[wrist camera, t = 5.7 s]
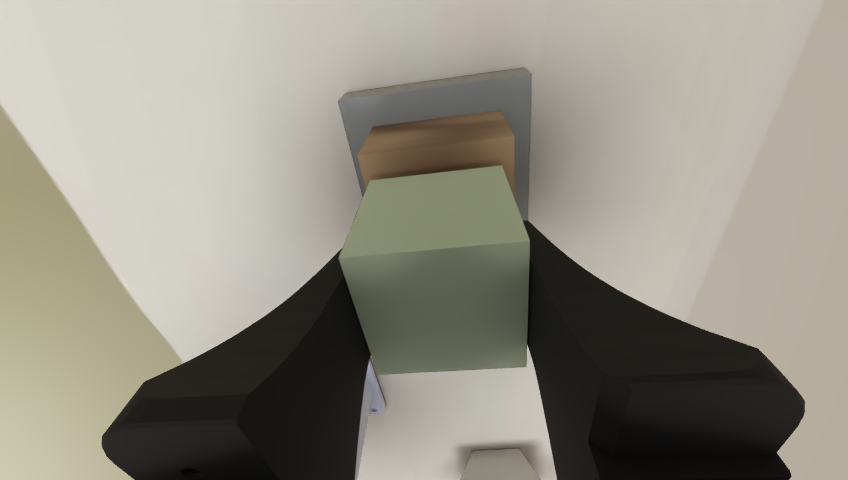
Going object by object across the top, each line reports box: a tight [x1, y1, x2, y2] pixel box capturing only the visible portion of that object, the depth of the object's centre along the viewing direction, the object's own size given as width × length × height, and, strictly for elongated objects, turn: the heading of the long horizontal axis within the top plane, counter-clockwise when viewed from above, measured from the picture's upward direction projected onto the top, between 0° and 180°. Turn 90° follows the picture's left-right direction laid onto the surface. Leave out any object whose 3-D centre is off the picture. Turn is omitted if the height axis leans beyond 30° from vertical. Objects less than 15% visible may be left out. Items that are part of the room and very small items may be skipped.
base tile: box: [338, 68, 532, 221], centre depth 17 cm, size 8×8×2 cm
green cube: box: [339, 165, 530, 375], centre depth 11 cm, size 4×4×4 cm
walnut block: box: [357, 110, 515, 196], centre depth 15 cm, size 6×6×4 cm
